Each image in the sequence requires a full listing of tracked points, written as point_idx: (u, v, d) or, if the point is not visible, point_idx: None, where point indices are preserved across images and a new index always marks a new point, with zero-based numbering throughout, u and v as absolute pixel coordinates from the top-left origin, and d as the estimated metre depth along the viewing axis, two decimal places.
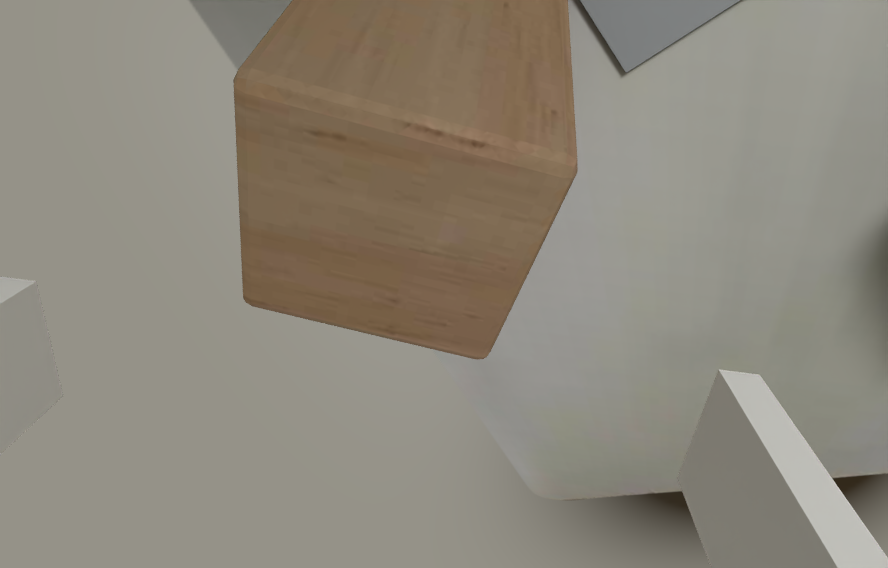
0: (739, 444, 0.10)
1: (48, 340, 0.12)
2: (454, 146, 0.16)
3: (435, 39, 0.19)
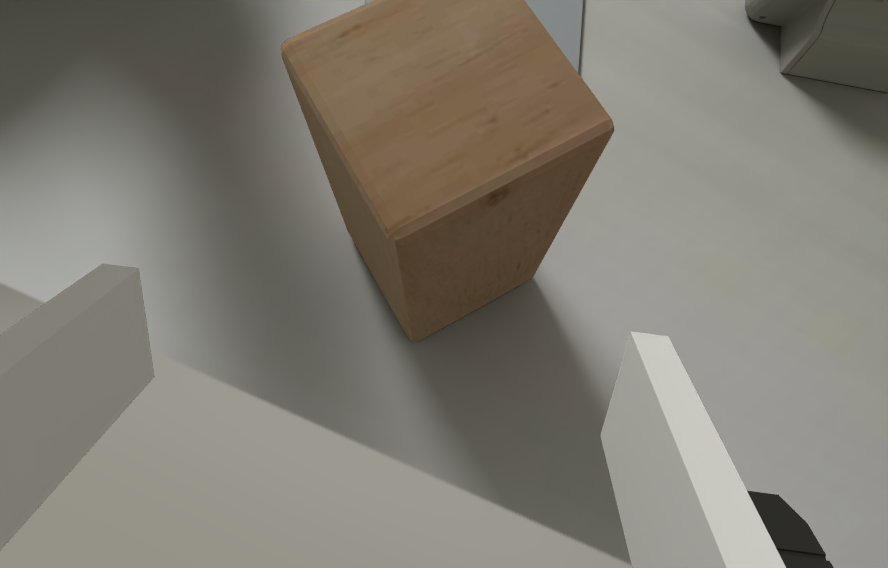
0: (640, 396, 0.11)
1: (144, 323, 0.12)
2: None
3: None
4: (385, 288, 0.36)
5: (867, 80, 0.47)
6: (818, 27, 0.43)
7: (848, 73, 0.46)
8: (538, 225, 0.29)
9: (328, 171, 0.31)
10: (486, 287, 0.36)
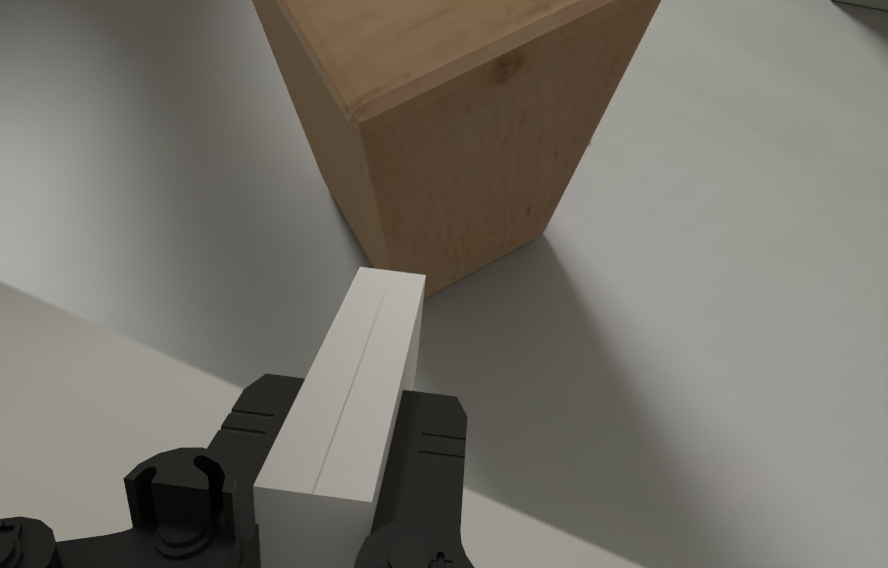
0: None
1: None
2: None
3: None
4: (364, 239, 0.29)
5: None
6: None
7: None
8: (557, 143, 0.22)
9: (288, 81, 0.24)
10: (488, 237, 0.29)
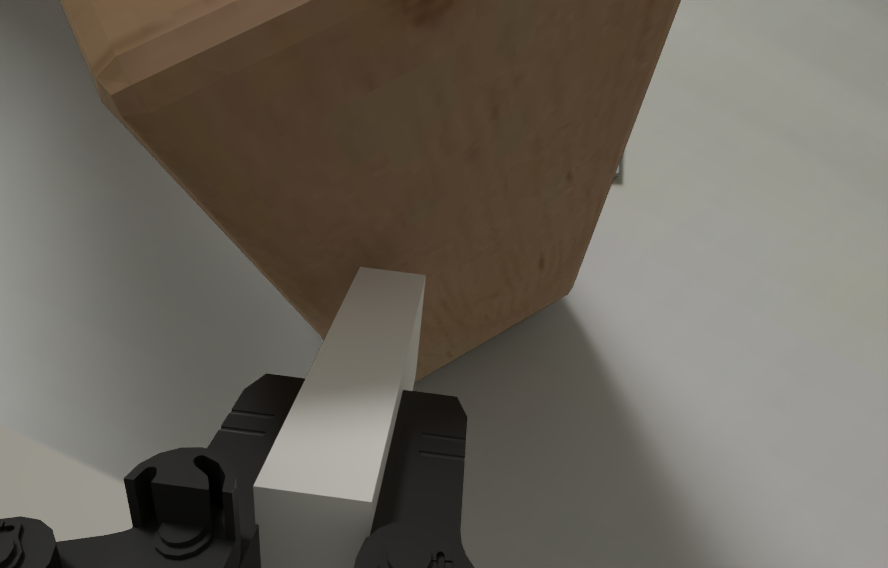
0: None
1: None
2: None
3: None
4: None
5: None
6: None
7: None
8: (567, 158, 0.14)
9: None
10: (488, 301, 0.21)
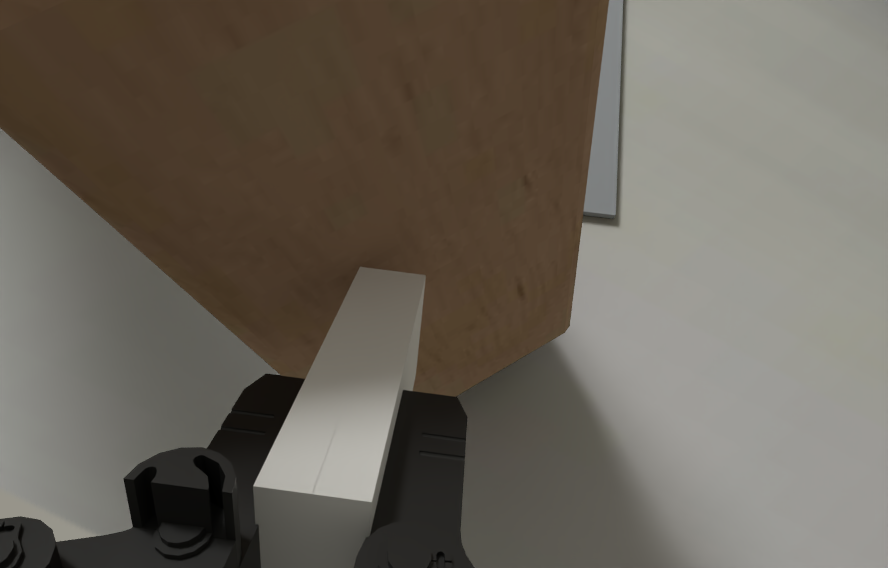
0: None
1: None
2: None
3: None
4: None
5: None
6: None
7: None
8: (518, 159, 0.13)
9: None
10: (465, 334, 0.19)
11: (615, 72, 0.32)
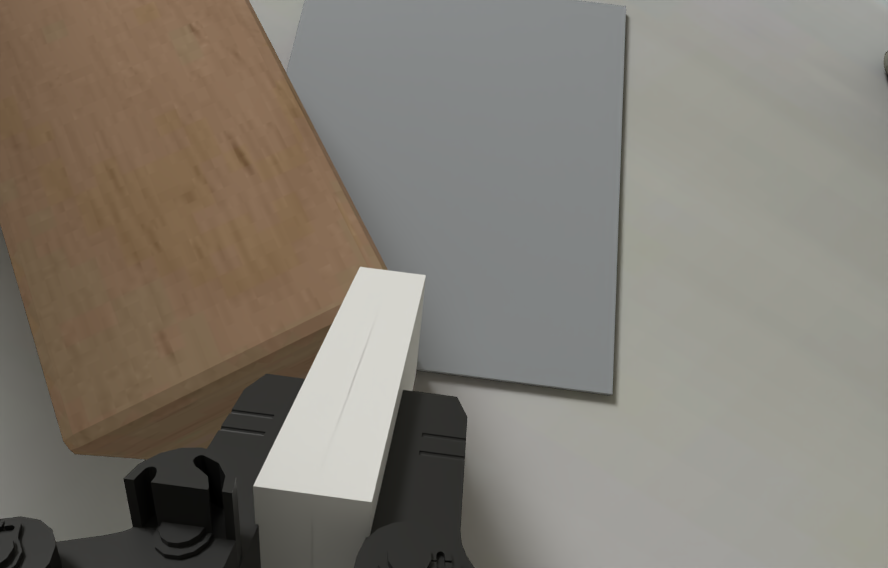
0: None
1: None
2: None
3: None
4: None
5: None
6: None
7: None
8: (178, 11, 0.20)
9: None
10: (183, 207, 0.18)
11: (612, 221, 0.29)
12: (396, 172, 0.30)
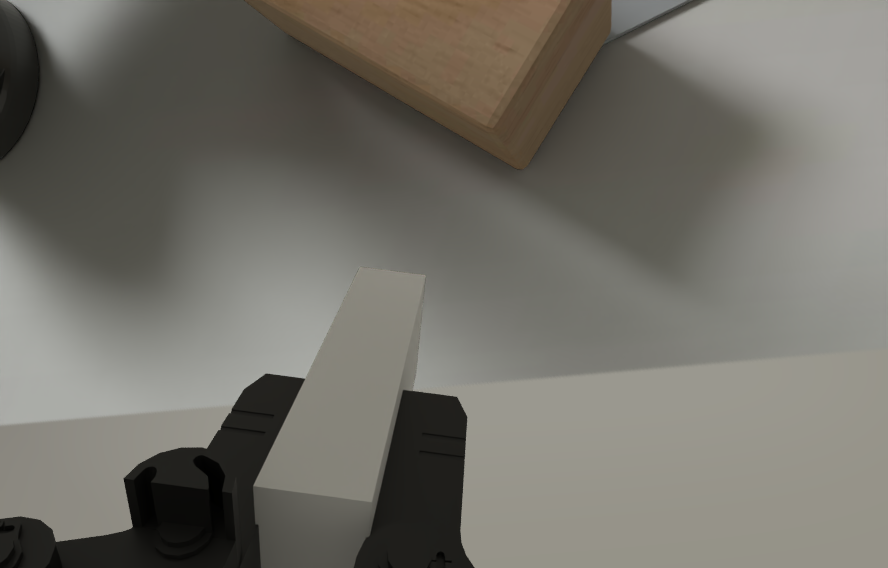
0: None
1: None
2: None
3: None
4: (419, 98, 0.31)
5: None
6: None
7: None
8: None
9: (369, 80, 0.37)
10: None
11: None
12: None
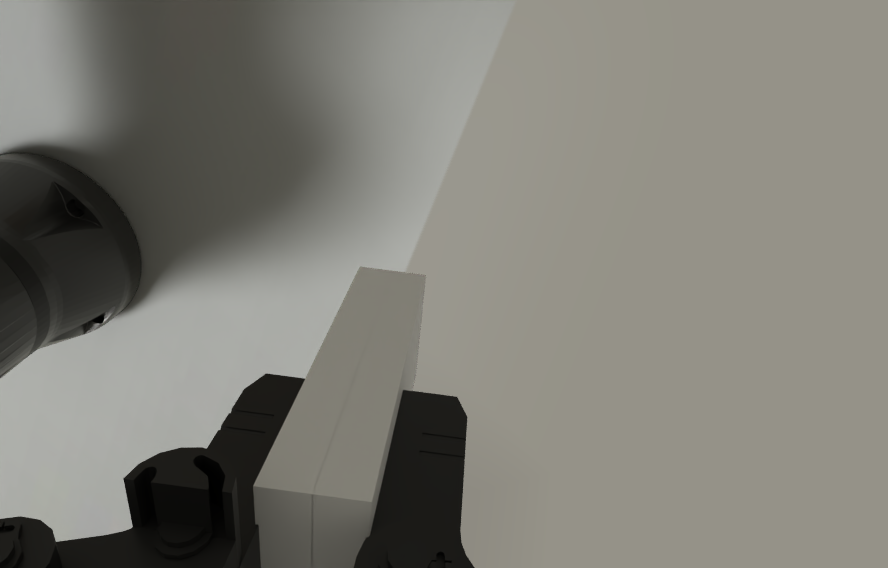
0: None
1: None
2: None
3: None
4: None
5: None
6: None
7: None
8: None
9: None
10: None
11: None
12: None
